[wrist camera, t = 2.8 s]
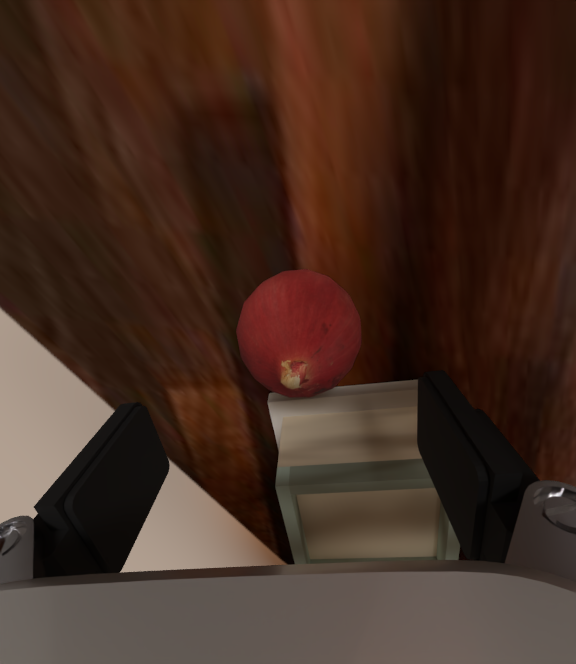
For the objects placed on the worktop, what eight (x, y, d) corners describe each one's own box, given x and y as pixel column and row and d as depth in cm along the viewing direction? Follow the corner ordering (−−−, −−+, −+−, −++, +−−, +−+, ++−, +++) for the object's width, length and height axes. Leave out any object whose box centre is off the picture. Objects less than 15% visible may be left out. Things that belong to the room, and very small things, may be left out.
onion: (367, 325, 19) (402, 419, 12) (281, 361, 20) (265, 464, 13) (325, 235, 17) (336, 280, 9) (232, 283, 18) (182, 354, 11)
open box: (269, 393, 21) (254, 469, 16) (440, 377, 20) (490, 455, 14) (295, 508, 26) (291, 596, 21) (432, 502, 25) (467, 595, 20)
